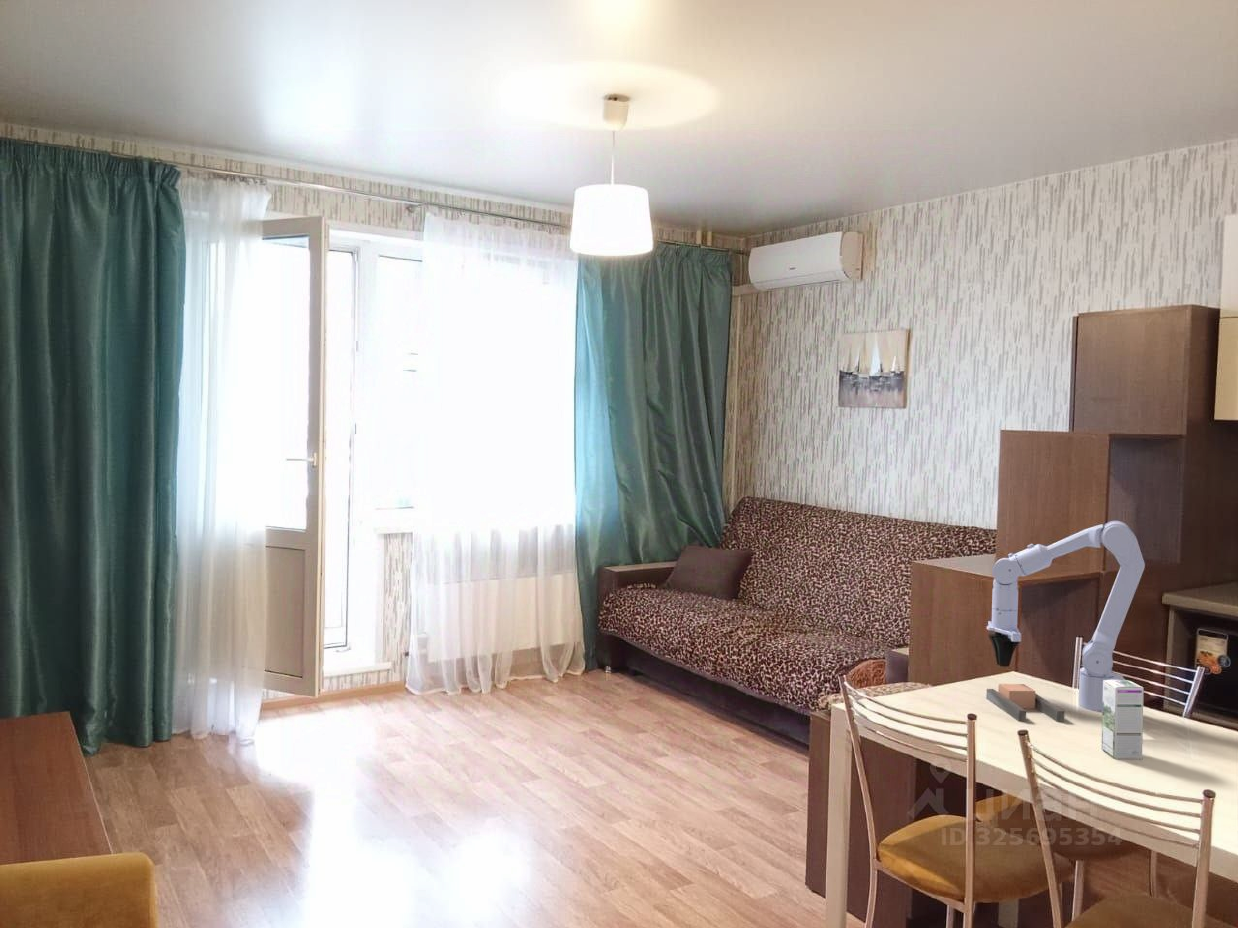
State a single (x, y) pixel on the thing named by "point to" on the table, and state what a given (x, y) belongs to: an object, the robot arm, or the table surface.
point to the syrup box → (1122, 719)
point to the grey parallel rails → (1019, 712)
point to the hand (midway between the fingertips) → (1003, 665)
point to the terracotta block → (1018, 694)
